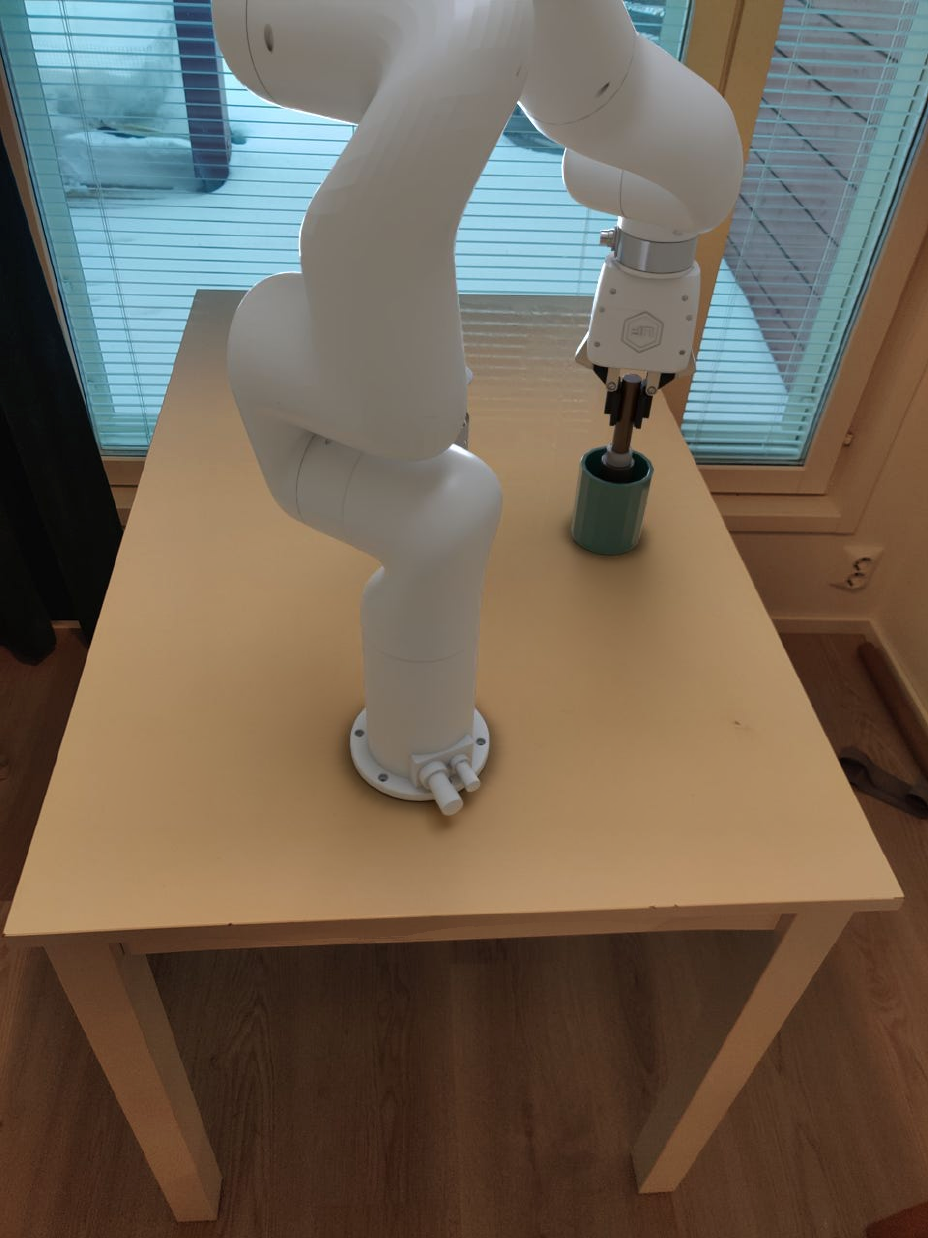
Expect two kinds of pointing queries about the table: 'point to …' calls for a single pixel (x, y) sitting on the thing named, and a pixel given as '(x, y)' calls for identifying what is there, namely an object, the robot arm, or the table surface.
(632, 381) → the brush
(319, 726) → the table surface
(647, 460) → the cup
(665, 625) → the table surface
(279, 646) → the table surface
